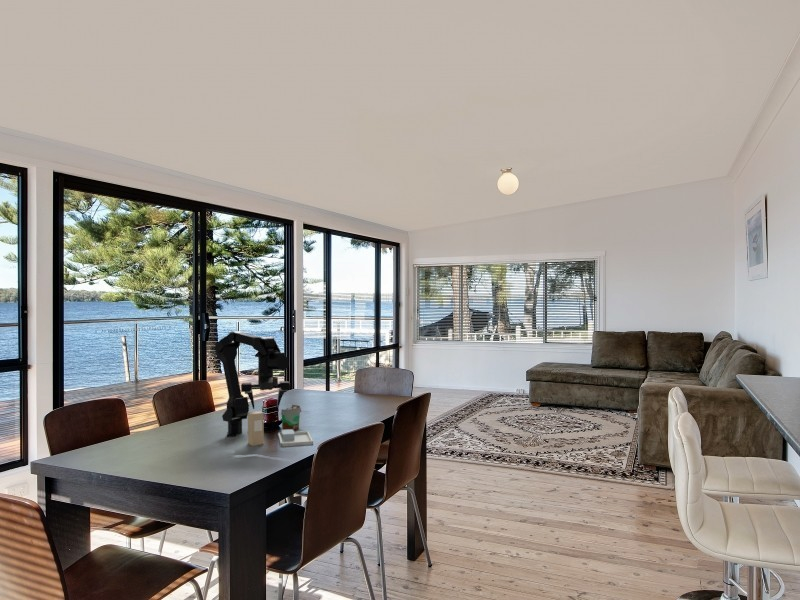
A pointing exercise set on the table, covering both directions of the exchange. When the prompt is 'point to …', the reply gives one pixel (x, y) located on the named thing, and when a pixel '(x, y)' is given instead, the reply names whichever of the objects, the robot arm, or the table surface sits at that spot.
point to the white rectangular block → (288, 435)
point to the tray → (297, 439)
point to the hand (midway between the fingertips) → (265, 408)
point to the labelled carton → (255, 428)
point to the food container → (291, 418)
